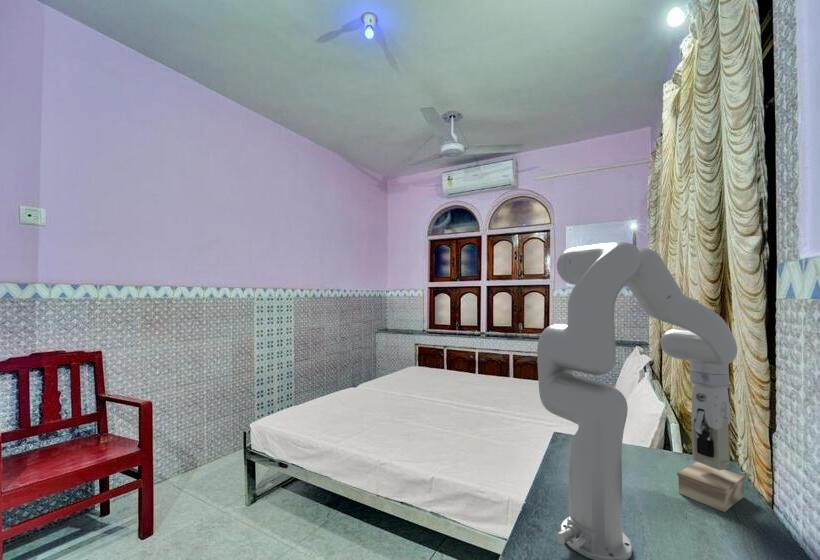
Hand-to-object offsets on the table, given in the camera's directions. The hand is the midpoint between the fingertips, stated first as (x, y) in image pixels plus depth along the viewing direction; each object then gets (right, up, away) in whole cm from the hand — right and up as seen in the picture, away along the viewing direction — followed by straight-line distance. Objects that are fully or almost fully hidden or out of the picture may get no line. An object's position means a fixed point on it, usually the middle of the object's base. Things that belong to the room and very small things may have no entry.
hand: (710, 451), depth 90 cm
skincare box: (0, -3, 0) cm, 3 cm away
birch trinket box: (0, -10, 0) cm, 11 cm away
